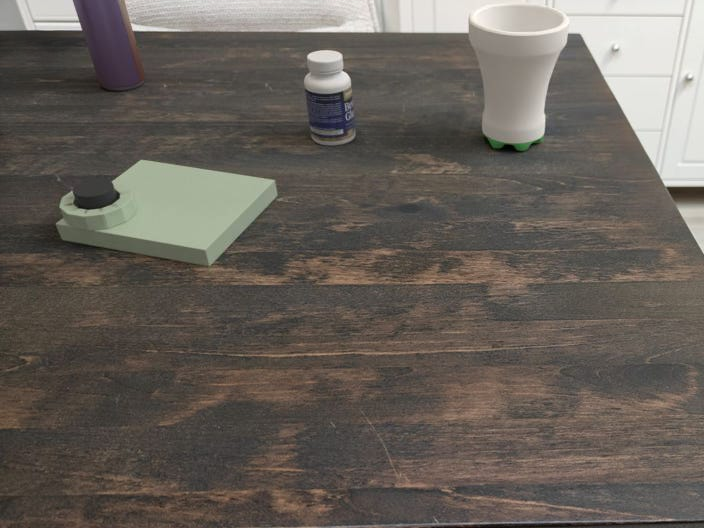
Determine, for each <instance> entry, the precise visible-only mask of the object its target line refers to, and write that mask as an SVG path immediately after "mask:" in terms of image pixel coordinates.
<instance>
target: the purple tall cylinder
mask: <svg viewBox="0 0 704 528" xmlns="http://www.w3.org/2000/svg"><path fill="white" fill-rule="evenodd" d="M72 3H73V6H74V9H75V12H76V15H77V18H78V22H79V25H80V28H81V31H82V34H83V38H84V40H85V44H86V46H87V50H88V53H89V56H90V60H91V62H92V65H93V68H94V71H95V75H96V78H97V81H98V83H99V84H100V85H101V87H103V88H104V89H106V90H108V91H114V92H124V91H130V90H134V89H137V88H139V87H141V86H142V85H143V84H144V82H145V79H146V72H145V70H144V66H143V63H142V58H141V55H140V51H139V48H138V45H137V41H136V37H135V33H134V30H133V27H132V23H131V19H130V15H129V12H128V9H127V4H126V1H125V0H72Z"/></svg>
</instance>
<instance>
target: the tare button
mask: <svg viewBox="0 0 704 528" xmlns="http://www.w3.org/2000/svg"><path fill="white" fill-rule="evenodd" d="M72 190H73V194H74V197H75V200H76V202H77V205H78V207H79V208H81V209H85V210H92V209H101V208H104V207H106V206H109V205H112V204H113V203H114V202H116V201H117V199H118V197H117V194H116V191H115V188H114V185H113V183H112V180H109V179H107V178H90V179H87V180H83V181H81V182H78V183H77V184H75V185H74V187H73V188H72Z"/></svg>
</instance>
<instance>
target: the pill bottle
mask: <svg viewBox="0 0 704 528" xmlns="http://www.w3.org/2000/svg"><path fill="white" fill-rule="evenodd" d="M306 62H307V69H308V71H309V72H308V73H307V74H306V75H305V77H304V79H303V85H304V87H303V88H304V92H305V99H306V100H305V101H306V107H307V115H308V124H309V130H310V137H311V139H312V140H313V142H315V143H317V144H318V145H321V146H327V147H333V146H334V147H335V146H342V145H345V144H346V145H347V144H348V143H350V142H352V141H353V140H354V139H355V137H356V122H355V110H354V99H353V89H352V88H353V87H352V80H351V77H350V76H349V74H348V73H347V72H346V71H343V70H344V60H343V54H342V53H341V52H339V51H336V50H329V49H323V50H316V51H312V52H310V53H308V54H307V56H306Z"/></svg>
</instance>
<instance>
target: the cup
mask: <svg viewBox="0 0 704 528" xmlns="http://www.w3.org/2000/svg"><path fill="white" fill-rule="evenodd" d="M467 21H468V40H469V43H470V45H471V47H472V49H473V50H474V53H475V56H476V59H477V63H478V66H479V71H480V75H481V79H482V86H483V87H482V88H483V96H484V97H483V100H484V101H483V102H484V103H483V105H484V110H483V112H482V118H481V131H482V135H483V137H484V138H486V139H487V140H488V141H489V144H490V145H491V148H493V149H502V148H504V146H505V145H511V146H513V147H514V149H515V150H516V151H519V152H525V151H527V150H528V149H529V148H530V146H531V145H532V144H539V143H542V142H543V141H544V138H545V130H546V114H545V107H546V106H545V105H546V99H547V93H548V88H549V85H550V84H549V83H550V80H551V78H552V75H553V72H554V70H555V66H556V63H557V62H558V59H559V56H560V54H561V52H562V51H563V49H564V48H565V47H566V45H567V43H568V38H569V37H568V36H569V28H570V19H569V17H568V16H567V14H566V13H565V12H564V11H562V10H559V9H557V8H554V7H552V6H548V5H545V4H544V5H543V4H539V3H538V4H537V3H531V2H519V1H518V2H517V1H516V2H515V1H513V2H499V3H491V4H487V5H482V6H480V7H478V8H475V9H473V11H472V12H471V13H470V14H469V15H468V20H467Z"/></svg>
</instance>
